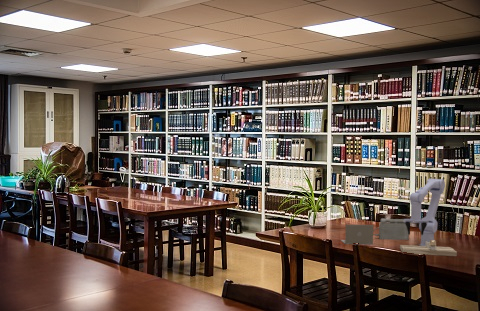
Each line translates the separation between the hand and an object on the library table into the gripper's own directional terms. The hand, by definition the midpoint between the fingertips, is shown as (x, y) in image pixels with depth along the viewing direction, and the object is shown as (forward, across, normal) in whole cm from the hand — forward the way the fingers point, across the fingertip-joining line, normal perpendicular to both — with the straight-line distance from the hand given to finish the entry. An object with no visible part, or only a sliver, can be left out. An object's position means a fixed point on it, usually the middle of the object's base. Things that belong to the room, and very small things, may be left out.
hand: (415, 234), depth 314 cm
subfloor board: (+9, +6, -6) cm, 13 cm away
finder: (+7, +8, -3) cm, 11 cm away
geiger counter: (+10, -10, +32) cm, 35 cm away
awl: (+9, +8, -10) cm, 16 cm away
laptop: (+10, -34, +15) cm, 39 cm away
